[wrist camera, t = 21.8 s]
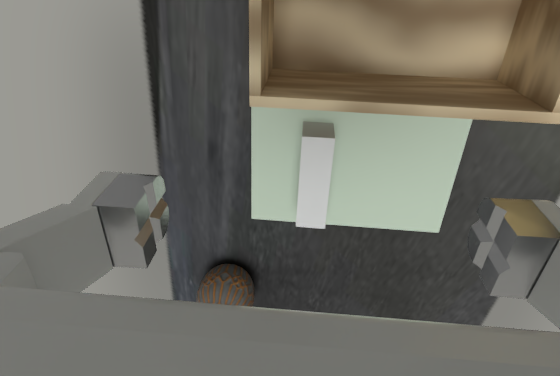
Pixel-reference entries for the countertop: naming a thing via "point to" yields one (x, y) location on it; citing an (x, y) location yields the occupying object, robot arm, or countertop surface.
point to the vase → (226, 286)
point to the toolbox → (408, 57)
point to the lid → (354, 168)
